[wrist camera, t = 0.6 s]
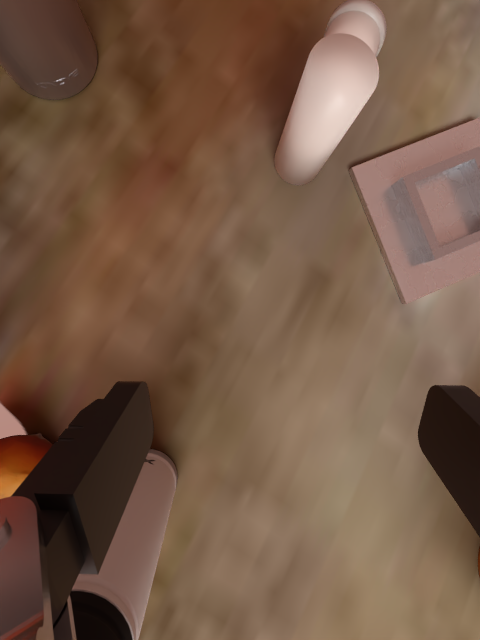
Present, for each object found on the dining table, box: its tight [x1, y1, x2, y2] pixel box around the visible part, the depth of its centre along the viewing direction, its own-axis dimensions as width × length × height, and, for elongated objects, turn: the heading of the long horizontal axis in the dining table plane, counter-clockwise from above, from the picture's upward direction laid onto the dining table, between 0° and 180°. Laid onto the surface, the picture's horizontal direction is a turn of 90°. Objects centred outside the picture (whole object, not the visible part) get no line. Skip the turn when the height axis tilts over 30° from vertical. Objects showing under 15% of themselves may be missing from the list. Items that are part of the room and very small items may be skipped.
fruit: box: [0, 432, 53, 499], centre depth 28 cm, size 8×8×8 cm
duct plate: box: [349, 118, 480, 304], centre depth 33 cm, size 16×16×3 cm
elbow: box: [274, 0, 387, 185], centre depth 27 cm, size 9×5×12 cm, turn 158°
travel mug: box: [70, 449, 178, 640], centre depth 22 cm, size 6×7×20 cm
